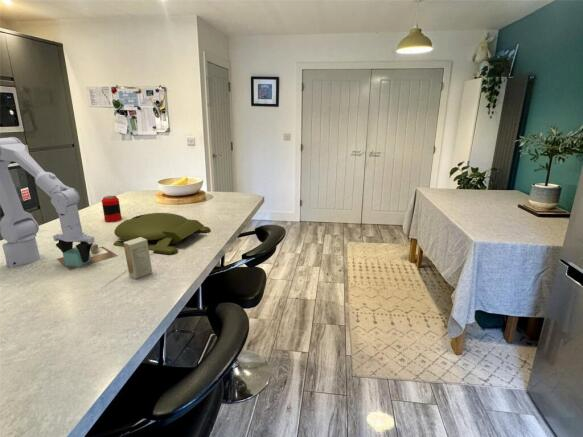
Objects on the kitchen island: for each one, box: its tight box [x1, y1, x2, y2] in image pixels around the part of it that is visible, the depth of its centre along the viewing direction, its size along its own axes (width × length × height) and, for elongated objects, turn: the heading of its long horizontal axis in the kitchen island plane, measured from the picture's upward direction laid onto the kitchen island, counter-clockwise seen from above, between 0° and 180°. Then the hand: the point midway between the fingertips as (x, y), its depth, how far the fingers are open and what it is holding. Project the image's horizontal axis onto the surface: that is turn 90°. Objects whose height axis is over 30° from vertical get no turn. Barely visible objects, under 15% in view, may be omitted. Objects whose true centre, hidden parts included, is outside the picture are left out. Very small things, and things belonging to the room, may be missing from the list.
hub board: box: [56, 242, 119, 271], centre depth 124 cm, size 16×14×4 cm
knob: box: [62, 246, 91, 268], centre depth 119 cm, size 6×6×5 cm
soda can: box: [101, 195, 122, 223], centre depth 169 cm, size 8×8×12 cm
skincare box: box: [123, 237, 153, 280], centre depth 112 cm, size 6×4×12 cm
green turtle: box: [112, 212, 211, 255], centre depth 146 cm, size 35×31×10 cm
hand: (78, 260), depth 119 cm, fingers closed on knob, 6 cm apart
